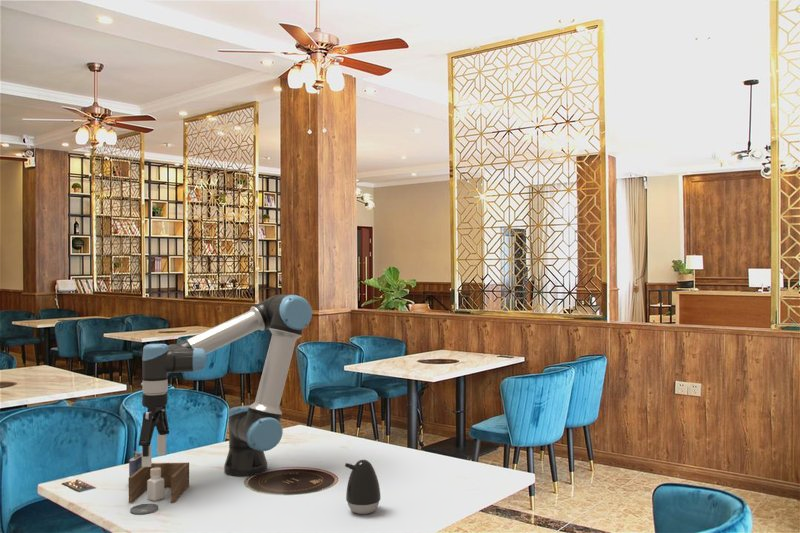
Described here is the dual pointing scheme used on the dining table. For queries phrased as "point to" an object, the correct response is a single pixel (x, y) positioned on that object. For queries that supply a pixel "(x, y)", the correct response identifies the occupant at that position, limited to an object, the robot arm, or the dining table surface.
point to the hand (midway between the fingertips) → (154, 460)
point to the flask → (135, 463)
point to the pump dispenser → (362, 488)
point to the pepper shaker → (155, 485)
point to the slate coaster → (144, 509)
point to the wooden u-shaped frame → (170, 472)
